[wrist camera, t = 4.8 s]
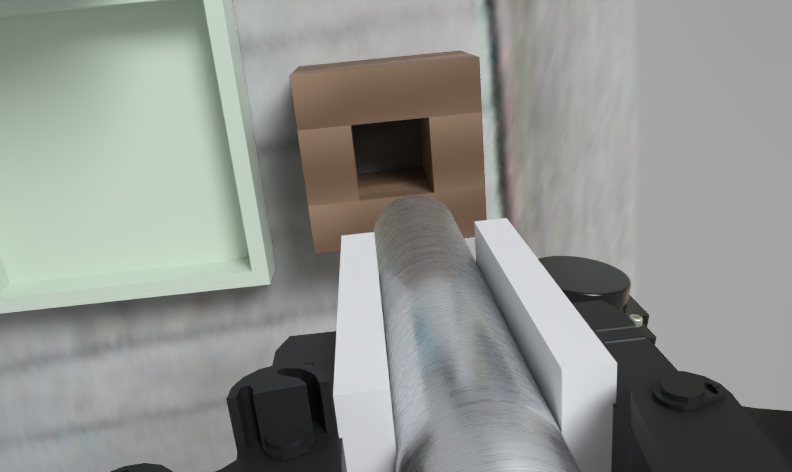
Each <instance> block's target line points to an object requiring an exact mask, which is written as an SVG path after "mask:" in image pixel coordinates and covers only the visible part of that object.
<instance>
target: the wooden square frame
mask: <svg viewBox="0 0 792 472" xmlns="http://www.w3.org/2000/svg"><path fill="white" fill-rule="evenodd" d="M290 83H291V90H292V97H293V104H294V111H295V119H296V126H297V133H298V140H299V147H300V154H301V161H302V168H303V175H304V182H305V189H306V196H307V203H308V210H309V217H310V224H311V231H312V238H313V245H314V252H315V254H320V253H329V252H339V251H341V236H342V235H352V234H361V233H371V232H374V227H375V223H376V221H377V218H378V217H379V215H380V213H381V212H382V211H383V209H384V208H385V207H386V206H387V205H389V204H390V203H391V202H393V201H395V200H396V199H399V198H401V197H404V196H408V195H425V196H429V197H432V198H434V199H436V200H438V201H439V202H441V203H442V204H443V205H445V206H446V207H447V209H448V210H449V211H450V213H451V214H452V216H453V218H454V220H455V222H456V224H457V226H458V228H459V230H460V232H461V234H462V236H463V238H470V237H475V227H474V221H483V220H486V197H485V175H484V152H483V130H482V107H481V84H480V62H479V57H477V56H474V55H471V54H468V53H465V52H462V51H453V52H443V53H433V54H422V55H412V56H402V57H392V58H381V59H371V60H361V61H351V62H340V63H330V64H320V65H310V66H299V67H298V68H297V69H296V70H295V71H294V72H293V73H292V74H291V75H290ZM418 118H419V124H420V137H421V150H422V163H423V168H415V169H406V170H396V171H386V172H377V173H367V174H358V168H357V159H356V150H355V141H354V132H353V125H358V124H368V123H378V122H388V121H398V120H408V119H418Z"/></svg>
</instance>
